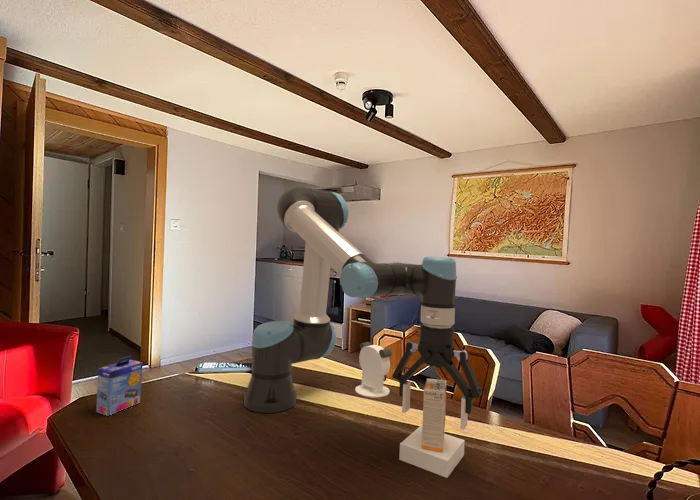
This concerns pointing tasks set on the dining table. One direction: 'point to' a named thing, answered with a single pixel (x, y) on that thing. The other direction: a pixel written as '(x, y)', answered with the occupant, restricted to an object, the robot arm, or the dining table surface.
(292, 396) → the robot arm
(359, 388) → the white rounded upright piece
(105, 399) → the ink cartridge box
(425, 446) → the supplement box
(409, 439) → the white block
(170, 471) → the dining table surface
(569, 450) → the dining table surface
